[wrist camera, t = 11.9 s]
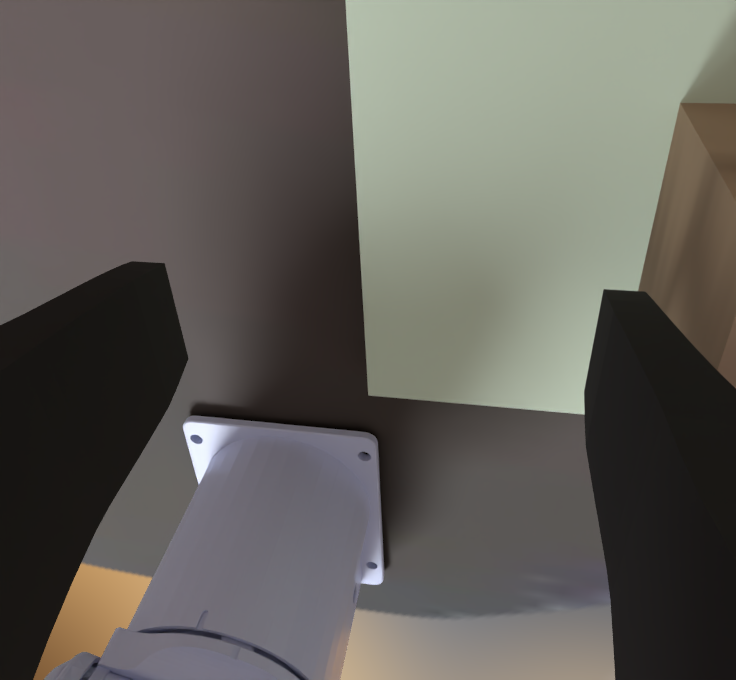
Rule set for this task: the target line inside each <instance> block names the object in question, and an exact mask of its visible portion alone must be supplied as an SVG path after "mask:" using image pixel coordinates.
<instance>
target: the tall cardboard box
mask: <svg viewBox="0 0 736 680" xmlns="http://www.w3.org/2000/svg"><path fill="white" fill-rule="evenodd" d="M638 291H644V292H646V293H647V294H648V295H649V296H650V297H651V298H652V299H653V300H654V301H655V303H656V304H657V305H658V306H659V307H660V308H661V309H662V311H663V312H664V313H665V314H666V315H667V316H668V317H669V319H670V320H671V321H672V322H673V323H674V324H675V325H676V327H677V328H678V329H679V330H680V331H681V332H682V333H683V334H684V336H685V337H686V338H687V339H688V340H689V341H690V342H691V343H692V344H693V345H694V347H695V348H696V349H697V350H698V351H699V352H700V353H701V354H702V355H703V356H704V357H705V358H706V359H707V360H708V361H709V362H710V364H711V365H712V366H713V367H714V368H715V369H716V370H717V371H718V372H719V373H720V374H721V375H722V376H723V377H724V378H725V379H726V380H727V381H728V382H729V383H731V384H732V385H733V386H734V387H735V388H736V104H728V103H680V106H679V110H678V114H677V119H676V123H675V128H674V132H673V137H672V141H671V146H670V150H669V155H668V159H667V164H666V168H665V172H664V177H663V181H662V186H661V190H660V195H659V199H658V204H657V208H656V213H655V217H654V222H653V226H652V230H651V235H650V239H649V244H648V248H647V253H646V257H645V262H644V266H643V271H642V275H641V279H640V284H639V288H638Z"/></svg>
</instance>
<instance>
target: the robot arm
mask: <svg viewBox="0 0 736 680" xmlns="http://www.w3.org/2000/svg"><path fill="white" fill-rule="evenodd" d="M187 361H188V355H187V351H186V347H185V343H184V339H183V335H182V331H181V327H180V323H179V319H178V315H177V311H176V307H175V303H174V299H173V295H172V291H171V287H170V283H169V279H168V275H167V271H166V267H165V263H149V262H129V263H126V264H124V265H121V266H119V267H116V268H114V269H112V270H110V271H107V272H105V273H103V274H101V275H99V276H97V277H95V278H93V279H91V280H89V281H87V282H85V283H83V284H81V285H79V286H77V287H75V288H73V289H72V290H70V291H68V292H66V293H64V294H62V295H60V296H58V297H56V298H54V299H52V300H50V301H48V302H46V303H44V304H43V305H41V306H39V307H37V308H35V309H33V310H31V311H29V312H27V313H25V314H23V315H21V316H19V317H17V318H15V319H13V320H11V321H9V322H7V323H4V324H2V325H0V680H33V678H34V675H35V673H36V670H37V667H38V665H39V662H40V660H41V657H42V654H43V652H44V649H45V647H46V644H47V641H48V639H49V636H50V633H51V631H52V629H53V627H54V624H55V622H56V619H57V617H58V615H59V612H60V610H61V608H62V605H63V603H64V600H65V598H66V595H67V593H68V591H69V589H70V586H71V584H72V582H73V579H74V577H75V575H76V573H77V571H78V568H79V566H80V564H81V562H82V560H83V558H84V555H85V553H86V551H87V549H88V547H89V545H90V542H91V540H92V538H93V536H94V534H95V532H96V530H97V528H98V526H99V524H100V522H101V521H102V519H103V517H104V515H105V513H106V511H107V509H108V508H109V506H110V504H111V503H112V501H113V499H114V498H115V496H116V494H117V493H118V491H119V489H120V488H121V486H122V484H123V483H124V481H125V479H126V478H127V476H128V474H129V473H130V471H131V470H132V468H133V466H134V465H135V463H136V461H137V460H138V458H139V456H140V455H141V453H142V451H143V450H144V448H145V446H146V445H147V443H148V441H149V440H150V438H151V436H152V435H153V433H154V431H155V429H156V428H157V426H158V424H159V423H160V421H161V419H162V418H163V416H164V414H165V412H166V410H167V409H168V407H169V405H170V403H171V400H172V398H173V396H174V393H175V391H176V389H177V386H178V384H179V381H180V379H181V376H182V374H183V371H184V368H185V366H186V363H187ZM584 407H585V436H586V450H587V456H588V462H589V468H590V474H591V480H592V486H593V492H594V498H595V504H596V509H597V515H598V521H599V527H600V533H601V538H602V544H603V550H604V556H605V562H606V567H607V574H608V582H609V590H610V598H611V613H612V629H613V645H614V660H615V680H736V388H735V387H734V386H733V385H732V384H731V383H729V382H728V381H727V380H726V379H725V378H724V377H723V376H722V375H721V374H720V373H719V372H718V371H717V370H716V369H715V368H714V367H713V366H712V365H711V364H710V362H709V361H708V360H707V359H706V358H705V357H704V356H703V355H702V354H701V353H700V352H699V351H698V350H697V349H696V348H695V347H694V345H693V344H692V343H691V342H690V341H689V340H688V339H687V338H686V337H685V336H684V334H683V333H682V332H681V331H680V330H679V329H678V328H677V327H676V325H675V324H674V323H673V322H672V321H671V320H670V319H669V317H668V316H667V315H666V314H665V313H664V312H663V311H662V309H661V308H660V307H659V306H658V305H657V304H656V303H655V301H654V300H653V299H652V298H651V297H650V296H649V295H648V294H647V293H646V292H644V291H627V290H610V289H604V290H603V295H602V300H601V305H600V311H599V316H598V321H597V326H596V332H595V337H594V342H593V347H592V353H591V358H590V363H589V368H588V373H587V379H586V384H585V389H584ZM183 430H184V434H185V437H186V441H187V444H188V448H189V452H190V455H191V459H192V462H193V466H194V469H195V473H196V477H197V480H198V484H199V486H198V488H197V490H196V492H195V494H194V496H193V498H192V500H191V502H190V504H189V506H188V508H187V510H186V512H185V514H184V516H183V518H182V520H181V522H180V524H179V526H178V528H177V530H176V532H175V534H174V536H173V538H172V540H171V542H170V544H169V546H168V548H167V550H166V552H165V554H164V556H163V558H162V560H161V562H160V564H159V566H158V568H157V570H156V572H155V574H154V576H153V578H152V580H151V583H150V584H149V586H148V588H147V591H146V592H145V594H144V597H143V598H142V601H141V602H140V605H139V607H138V609H137V611H136V613H135V615H134V617H133V619H132V621H131V623H130V625H129V627H128V629H124V628H120V627H119V628H116V629H115V632H114V634H113V635H112V637H111V639H110V641H109V643H108V645H107V647H106V649H105V651H104V653H103V655H102V657H101V658H100V657H97V656H95V655H92V654H90V653H87V652H82V653H80V654H77V655H76V656H75V657H74V658H72V659H71V660H69V661H67V662H65V663H63V664H61V665H59V666H58V667H56V668H54V669H53V670H52V671H51V672H50V673H49V674H48V675H47V676H46V677H45V679H44V680H340V677H341V673H342V668H343V663H344V659H345V654H346V650H347V645H348V640H349V636H350V631H351V626H352V622H353V617H354V613H355V608H356V604H357V599H358V594H359V590H360V585H361V583H365V584H372V585H377V584H380V583H382V582H383V579H384V555H383V534H382V514H381V494H380V473H379V453H378V441H377V438H376V437H375V436H374V435H372V434H370V433H367V432H360V431H350V430H340V429H329V428H319V427H309V426H298V425H288V424H278V423H267V422H257V421H247V420H236V419H226V418H216V417H205V416H189V417H187V419H186V421H185V422H184V424H183ZM197 435H198V436H197ZM199 436H200V437H199ZM362 452H367V453H368V454H364V453H362Z"/></svg>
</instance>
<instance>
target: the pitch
mask: <svg viewBox="0 0 736 680" xmlns="http://www.w3.org/2000/svg"><path fill="white" fill-rule="evenodd" d="M346 17H347V34H348V52H349V69H350V86H351V104H352V121H353V138H354V156H355V173H356V190H357V208H358V225H359V243H360V260H361V277H362V295H363V312H364V329H365V347H366V364H367V381H368V396H380V397H391V398H403V399H414V400H426V401H437V402H448V403H460V404H471V405H483V406H494V407H506V408H517V409H528V410H540V411H551V412H563V413H574V414H585V407H584V389H585V384H586V379H587V373H588V368H589V363H590V358H591V353H592V347H593V342H594V337H595V332H596V326H597V321H598V316H599V311H600V305H601V300H602V295H603V290H604V289H610V290H627V291H638V288H639V284H640V279H641V275H642V271H643V266H644V262H645V257H646V253H647V248H648V244H649V239H650V235H651V230H652V226H653V222H654V217H655V213H656V208H657V204H658V199H659V195H660V190H661V186H662V181H663V177H664V172H665V168H666V164H667V159H668V155H669V150H670V146H671V141H672V137H673V132H674V128H675V123H676V119H677V114H678V110H679V106H680V103H728V104H736V0H346Z"/></svg>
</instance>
